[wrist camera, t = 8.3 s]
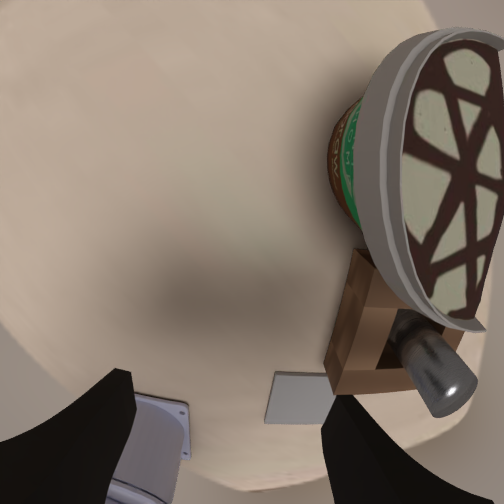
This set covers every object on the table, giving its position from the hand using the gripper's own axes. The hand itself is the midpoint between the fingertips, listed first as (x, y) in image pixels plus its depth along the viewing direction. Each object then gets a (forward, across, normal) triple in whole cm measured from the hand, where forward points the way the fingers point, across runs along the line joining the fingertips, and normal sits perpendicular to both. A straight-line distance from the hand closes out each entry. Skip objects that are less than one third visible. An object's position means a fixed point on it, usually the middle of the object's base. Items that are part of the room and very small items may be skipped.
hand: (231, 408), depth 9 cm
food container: (+10, -6, -9) cm, 15 cm away
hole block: (+10, -11, +1) cm, 15 cm away
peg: (+10, -11, +1) cm, 15 cm away
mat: (+10, -6, +9) cm, 15 cm away
